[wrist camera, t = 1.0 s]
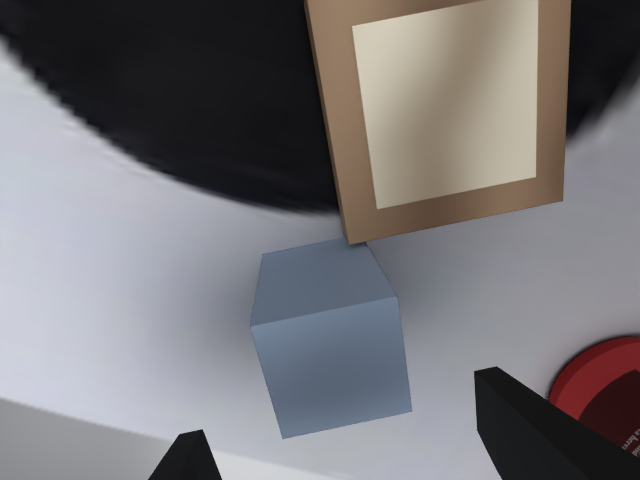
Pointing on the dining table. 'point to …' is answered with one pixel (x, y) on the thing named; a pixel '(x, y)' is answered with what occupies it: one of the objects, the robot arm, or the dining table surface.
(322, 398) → the block
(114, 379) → the dining table surface
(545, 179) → the plinth
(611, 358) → the canned food
